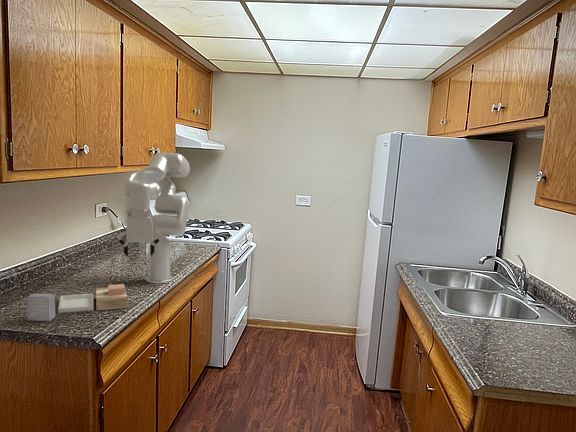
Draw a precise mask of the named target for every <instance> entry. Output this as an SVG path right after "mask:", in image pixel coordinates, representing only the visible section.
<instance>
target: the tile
mask: <svg viewBox="0 0 576 432" xmlns="http://www.w3.org/2000/svg"><path fill="white" fill-rule="evenodd" d="M107 286H108V287H107V288H108V293H109V295H123V294H125V291H126V287H125V284H124V283H120V284H118V283H117V284H108V285H107Z"/></svg>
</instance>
